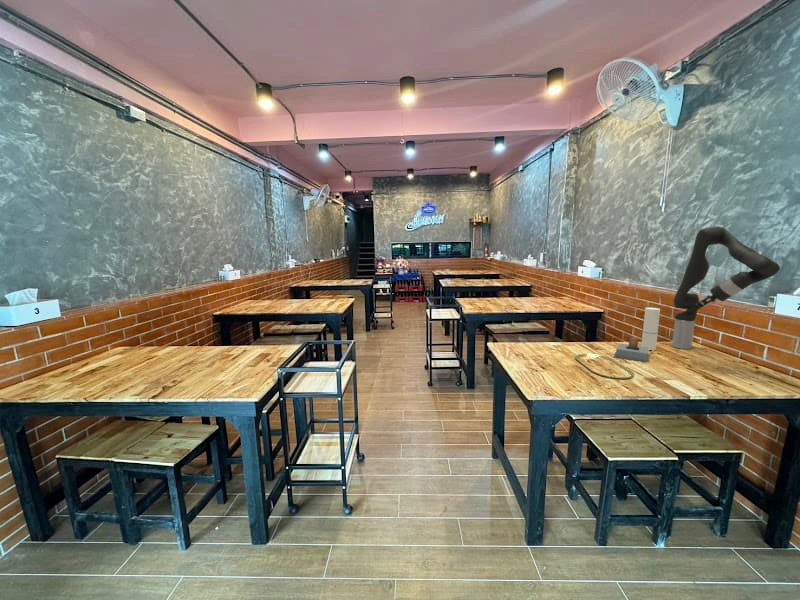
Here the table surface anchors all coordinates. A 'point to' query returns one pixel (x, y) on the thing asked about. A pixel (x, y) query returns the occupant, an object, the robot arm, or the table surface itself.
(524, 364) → the table surface
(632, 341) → the walnut peg
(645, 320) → the tall white block
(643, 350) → the socket block
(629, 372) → the rubber band
